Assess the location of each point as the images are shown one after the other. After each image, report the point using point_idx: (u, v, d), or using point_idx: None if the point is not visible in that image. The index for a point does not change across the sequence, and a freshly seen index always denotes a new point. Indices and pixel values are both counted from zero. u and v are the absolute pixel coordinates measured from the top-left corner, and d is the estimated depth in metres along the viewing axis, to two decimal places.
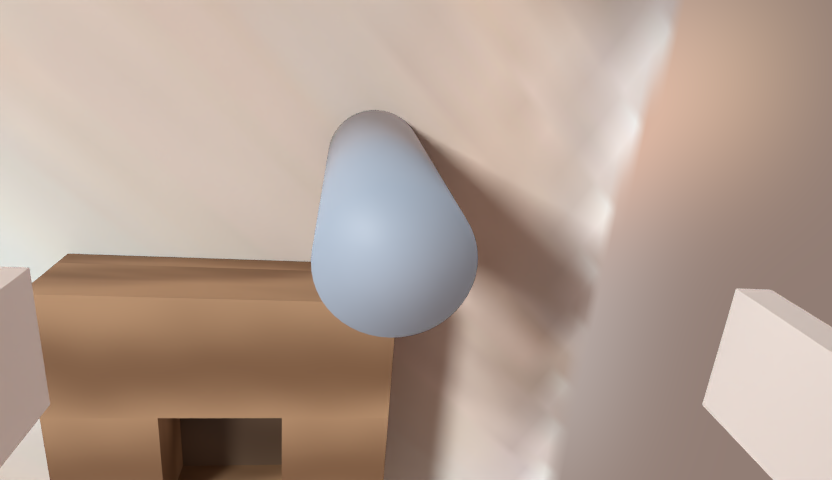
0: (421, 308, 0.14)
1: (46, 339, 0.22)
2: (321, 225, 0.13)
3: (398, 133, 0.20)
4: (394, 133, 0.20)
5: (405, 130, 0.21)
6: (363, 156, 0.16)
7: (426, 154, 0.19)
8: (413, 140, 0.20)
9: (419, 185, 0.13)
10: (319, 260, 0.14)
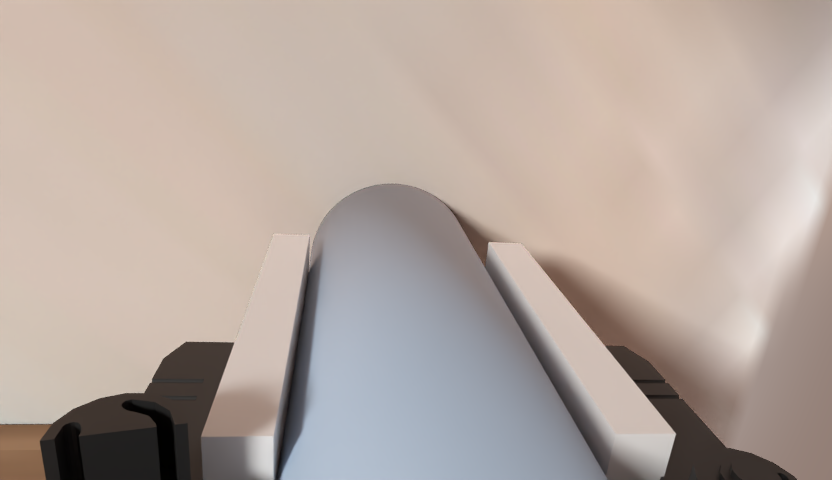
0: None
1: None
2: None
3: (448, 264, 0.10)
4: (441, 268, 0.09)
5: (453, 240, 0.11)
6: (385, 397, 0.06)
7: (509, 315, 0.09)
8: (477, 275, 0.10)
9: None
10: None
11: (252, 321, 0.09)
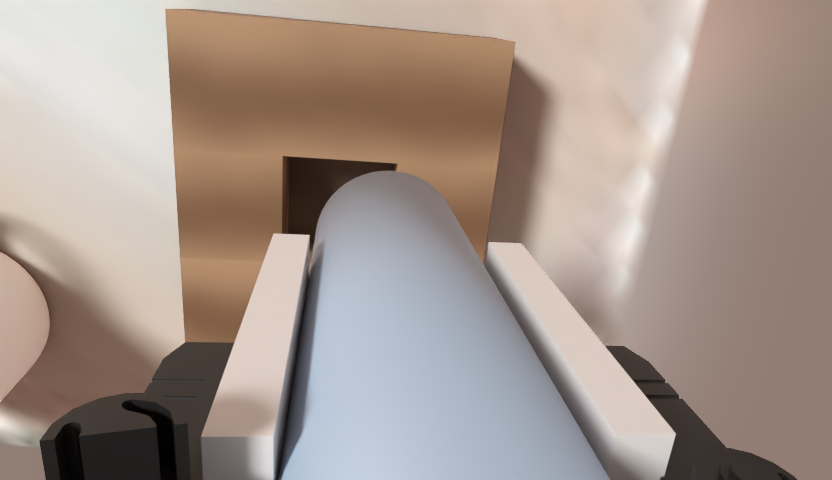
0: None
1: (186, 61, 0.23)
2: None
3: (435, 233, 0.11)
4: (428, 235, 0.11)
5: (441, 216, 0.13)
6: (378, 324, 0.08)
7: (487, 275, 0.11)
8: (460, 243, 0.11)
9: None
10: None
11: (252, 321, 0.09)
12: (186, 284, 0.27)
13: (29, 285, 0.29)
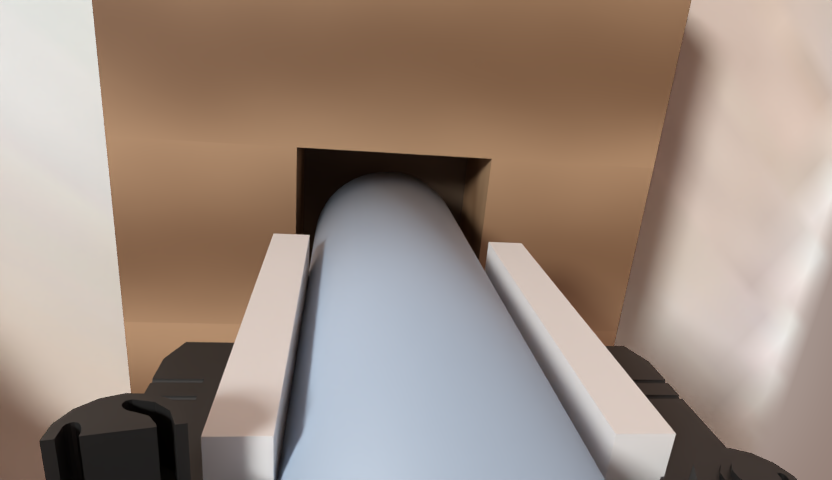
0: None
1: None
2: None
3: (433, 234, 0.11)
4: (426, 236, 0.11)
5: (440, 217, 0.13)
6: (376, 324, 0.08)
7: (485, 275, 0.11)
8: (458, 244, 0.11)
9: None
10: None
11: (252, 321, 0.09)
12: (136, 365, 0.16)
13: None
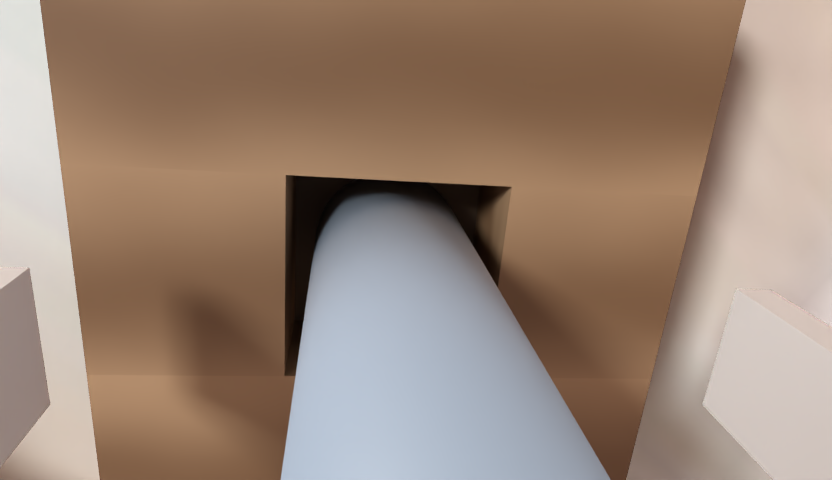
0: None
1: None
2: None
3: (436, 237, 0.11)
4: (430, 240, 0.11)
5: (443, 219, 0.13)
6: (380, 334, 0.07)
7: (490, 280, 0.11)
8: (463, 247, 0.11)
9: None
10: None
11: None
12: (102, 423, 0.14)
13: None
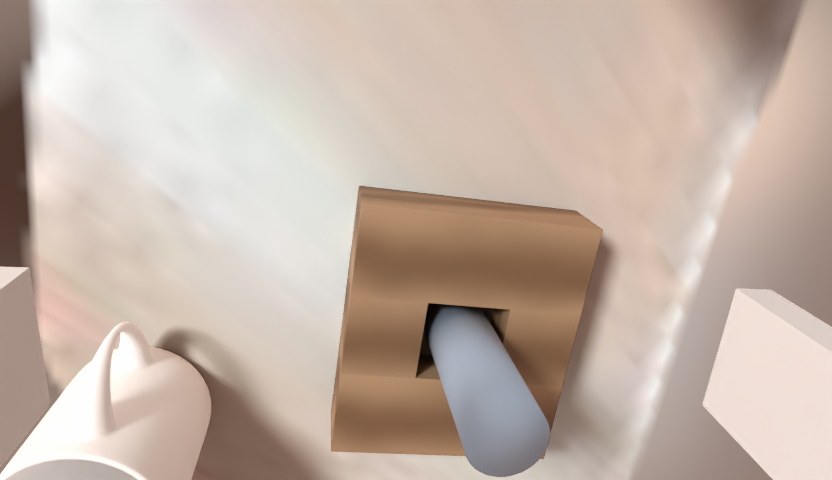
0: (517, 461, 0.27)
1: (370, 237, 0.32)
2: (472, 421, 0.26)
3: (485, 331, 0.32)
4: (484, 332, 0.32)
5: (485, 321, 0.34)
6: (479, 364, 0.29)
7: (504, 347, 0.32)
8: (494, 334, 0.32)
9: (524, 402, 0.26)
10: (468, 438, 0.26)
11: None
12: (341, 393, 0.35)
13: (203, 385, 0.37)
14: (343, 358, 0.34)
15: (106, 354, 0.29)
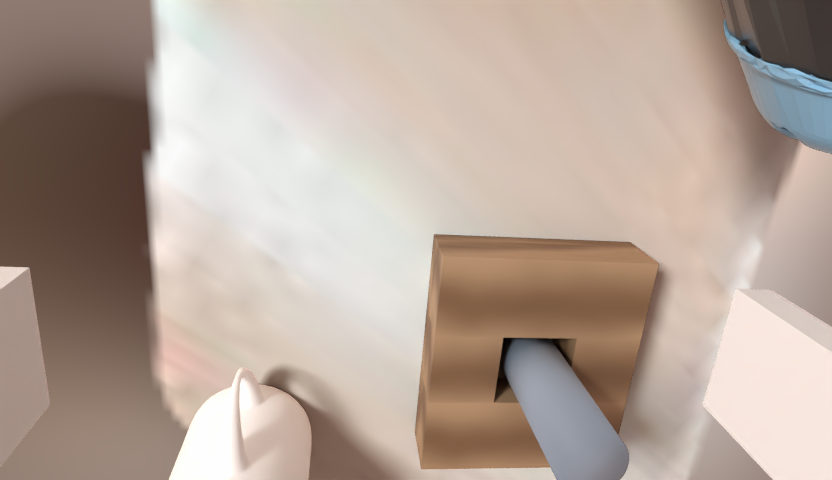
0: None
1: (451, 285, 0.36)
2: (562, 451, 0.30)
3: (559, 362, 0.36)
4: (558, 364, 0.36)
5: (555, 351, 0.38)
6: (560, 397, 0.33)
7: (576, 376, 0.36)
8: (566, 364, 0.36)
9: (606, 433, 0.30)
10: (559, 465, 0.30)
11: None
12: (429, 419, 0.39)
13: (305, 415, 0.41)
14: (430, 389, 0.38)
15: (235, 402, 0.34)
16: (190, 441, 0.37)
